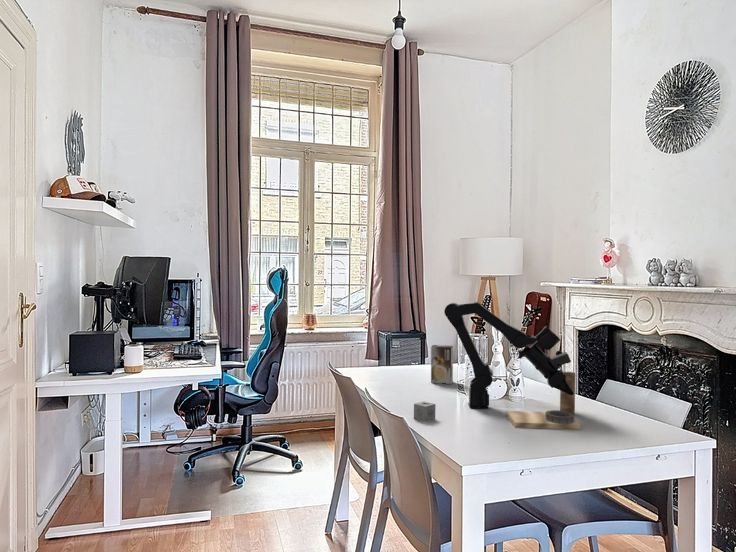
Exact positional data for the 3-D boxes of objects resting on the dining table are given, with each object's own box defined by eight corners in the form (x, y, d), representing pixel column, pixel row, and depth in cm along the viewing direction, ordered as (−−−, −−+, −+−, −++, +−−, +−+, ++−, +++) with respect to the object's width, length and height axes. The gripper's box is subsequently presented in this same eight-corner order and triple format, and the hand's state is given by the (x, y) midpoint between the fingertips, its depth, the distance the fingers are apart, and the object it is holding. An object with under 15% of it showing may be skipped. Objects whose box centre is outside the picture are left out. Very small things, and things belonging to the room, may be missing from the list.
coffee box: (453, 381, 233) (453, 345, 233) (451, 384, 227) (451, 347, 227) (432, 380, 236) (433, 344, 236) (430, 382, 230) (430, 346, 229)
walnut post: (562, 414, 180) (562, 373, 180) (558, 410, 185) (558, 371, 185) (576, 415, 180) (577, 374, 180) (572, 411, 185) (572, 371, 185)
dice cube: (435, 419, 173) (435, 404, 173) (425, 422, 170) (425, 406, 169) (423, 416, 177) (423, 401, 177) (413, 418, 173) (413, 403, 173)
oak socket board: (514, 427, 165) (515, 416, 165) (506, 415, 179) (506, 404, 179) (580, 429, 163) (580, 418, 163) (566, 417, 177) (566, 406, 177)
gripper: (559, 347, 174) (594, 383, 172) (553, 340, 192) (585, 372, 190) (534, 370, 176) (568, 405, 174) (530, 361, 194) (561, 392, 192)
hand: (571, 392), depth 182 cm, fingers closed on walnut post, 5 cm apart
